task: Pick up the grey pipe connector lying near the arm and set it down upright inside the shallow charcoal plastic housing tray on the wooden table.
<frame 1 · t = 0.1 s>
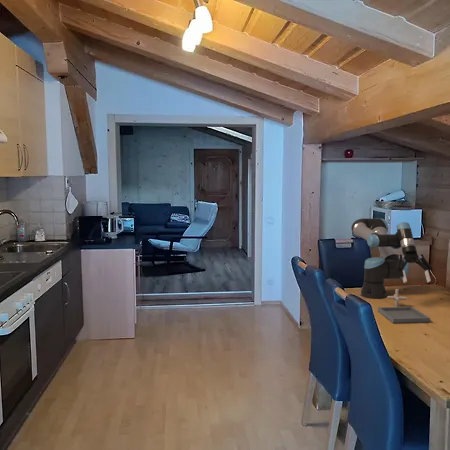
hand: (417, 282, 256), 15 cm above the table, tool tilted 35°, fingers open, 13 cm apart
pipe connector: (396, 306, 262), on the table
housing tray: (402, 317, 243), on the table
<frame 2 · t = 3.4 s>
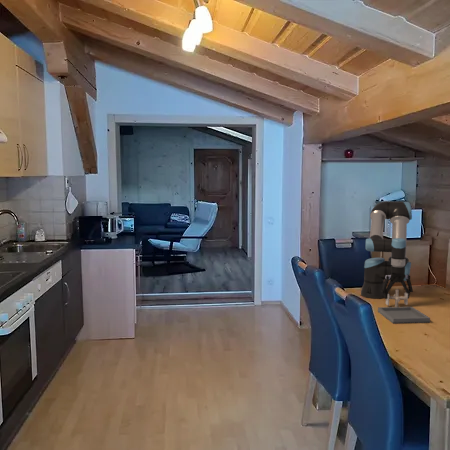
hand: (396, 304, 262), 1 cm above the table, tool pointing down, fingers closed on pipe connector, 10 cm apart
pipe connector: (396, 306, 262), on the table, touching gripper
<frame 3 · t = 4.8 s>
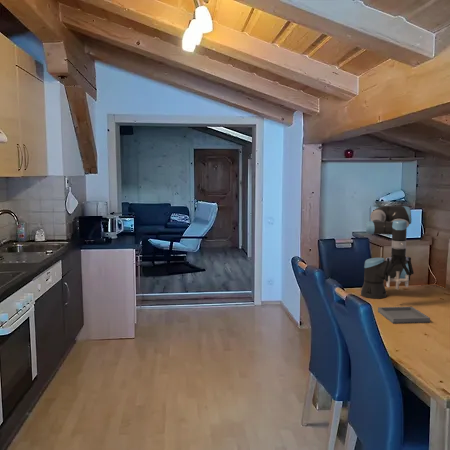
hand: (397, 286, 261), 12 cm above the table, tool pointing down, fingers closed on pipe connector, 10 cm apart
pipe connector: (397, 289, 262), point 10 cm above the table, touching gripper
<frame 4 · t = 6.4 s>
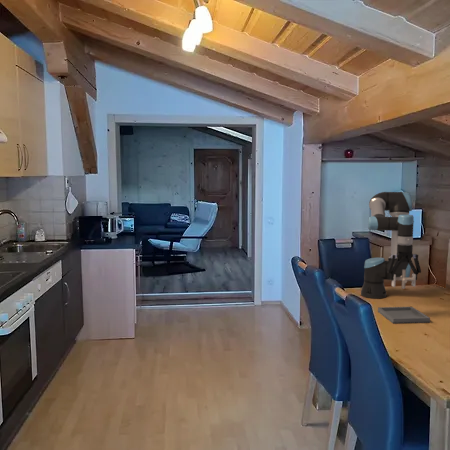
hand: (403, 286, 243), 16 cm above the table, tool pointing down, fingers closed on pipe connector, 10 cm apart
pipe connector: (403, 288, 243), point 15 cm above the table, touching gripper
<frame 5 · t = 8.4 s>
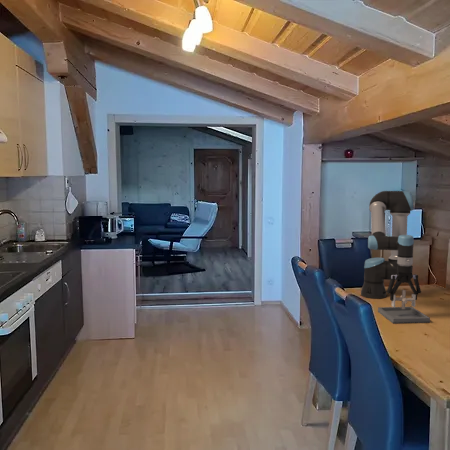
hand: (403, 306, 242), 6 cm above the table, tool pointing down, fingers closed on pipe connector, 10 cm apart
pipe connector: (403, 309, 243), point 4 cm above the table, touching gripper
when the fingers open (4 cm above the table, at t = 9.8 s): pipe connector drops 2 cm, resting on housing tray.
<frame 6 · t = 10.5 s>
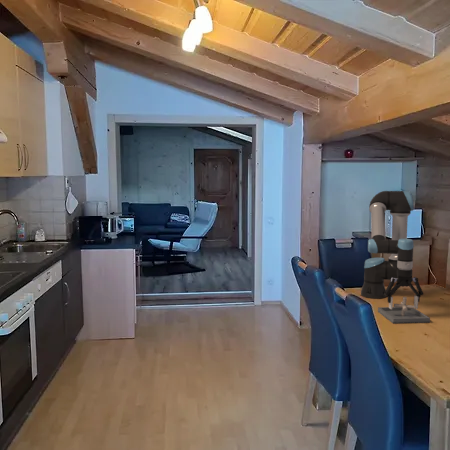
hand: (403, 308, 243), 5 cm above the table, tool pointing down, fingers open, 13 cm apart
pipe connector: (402, 315, 243), point 1 cm above the table, touching housing tray
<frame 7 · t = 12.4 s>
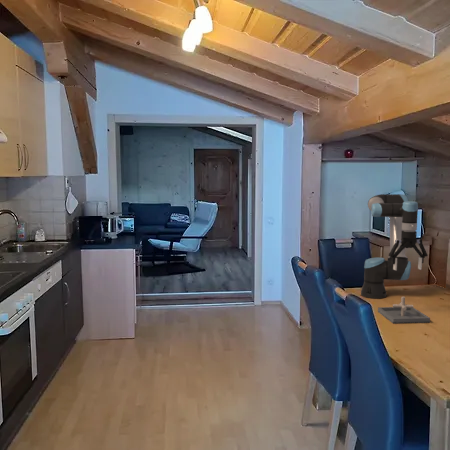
hand: (407, 269, 248), 24 cm above the table, tool pointing down, fingers open, 13 cm apart
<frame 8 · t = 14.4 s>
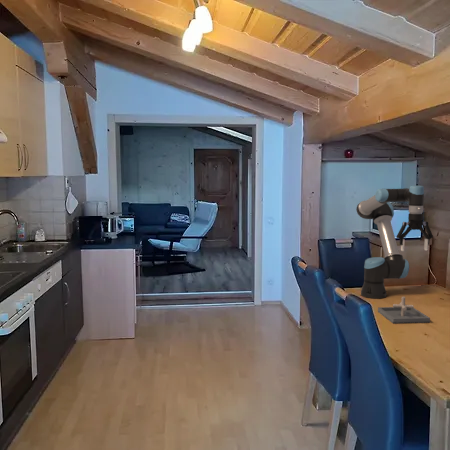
hand: (414, 250, 261), 32 cm above the table, tool pointing down, fingers open, 13 cm apart
nothing on the table moved.
at the end: pipe connector inside the target area on the housing tray (0.1 cm from its centre), point 0.6 cm above the housing tray's base; pipe connector tilted 0°; the gripper is holding nothing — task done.
